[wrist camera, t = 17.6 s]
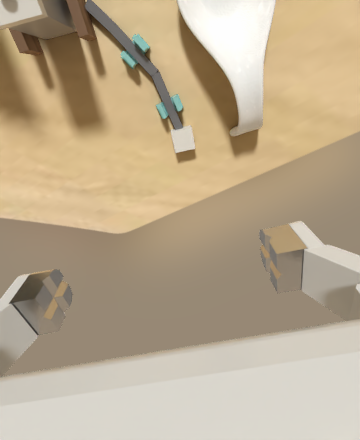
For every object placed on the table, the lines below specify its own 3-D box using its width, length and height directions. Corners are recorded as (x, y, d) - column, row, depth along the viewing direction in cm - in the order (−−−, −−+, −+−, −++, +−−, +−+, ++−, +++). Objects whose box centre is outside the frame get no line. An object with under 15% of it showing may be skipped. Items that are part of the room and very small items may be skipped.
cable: (109, -17, 30) (105, -23, 28) (200, 141, 40) (201, 144, 38) (84, 6, 31) (79, 2, 29) (178, 155, 41) (179, 158, 39)
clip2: (149, 47, 33) (148, 45, 31) (133, 69, 35) (131, 68, 33) (138, 34, 33) (136, 31, 31) (121, 57, 34) (119, 56, 32)
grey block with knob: (63, -16, 30) (7, -65, 20) (79, 32, 32) (37, 11, 22) (27, -5, 30) (-48, -48, 20) (45, 41, 33) (-12, 25, 22)
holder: (70, -47, 29) (56, -64, 25) (96, 38, 33) (88, 34, 29) (0, -26, 29) (-22, -40, 26) (35, 55, 33) (19, 52, 30)
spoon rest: (160, -54, 29) (157, -90, 23) (259, -99, 27) (285, -151, 21) (210, 142, 40) (217, 153, 34) (281, 118, 39) (303, 125, 33)
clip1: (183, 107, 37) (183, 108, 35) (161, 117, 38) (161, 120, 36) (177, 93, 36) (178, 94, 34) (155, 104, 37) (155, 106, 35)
